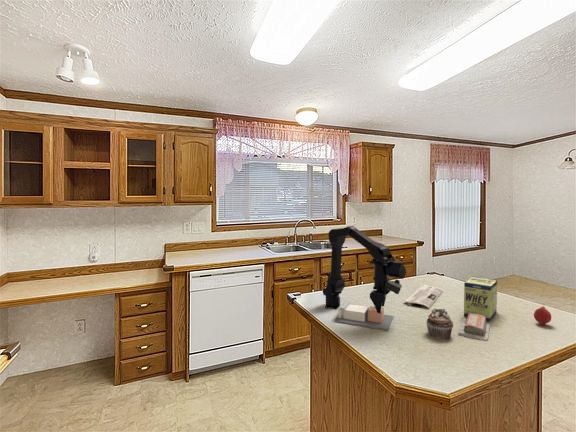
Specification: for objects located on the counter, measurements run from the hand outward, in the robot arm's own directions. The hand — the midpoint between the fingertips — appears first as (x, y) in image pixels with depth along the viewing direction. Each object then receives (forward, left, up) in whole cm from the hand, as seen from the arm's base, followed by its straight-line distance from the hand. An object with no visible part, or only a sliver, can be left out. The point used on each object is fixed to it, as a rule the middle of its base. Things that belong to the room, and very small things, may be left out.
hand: (380, 309), depth 139 cm
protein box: (+40, +28, -6) cm, 49 cm away
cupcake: (+23, -4, -6) cm, 24 cm away
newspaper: (+16, +43, -6) cm, 47 cm away
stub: (-2, 0, -5) cm, 5 cm away
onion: (+62, +24, -6) cm, 67 cm away
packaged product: (+36, +7, -6) cm, 37 cm away
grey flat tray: (-7, 0, -6) cm, 9 cm away
